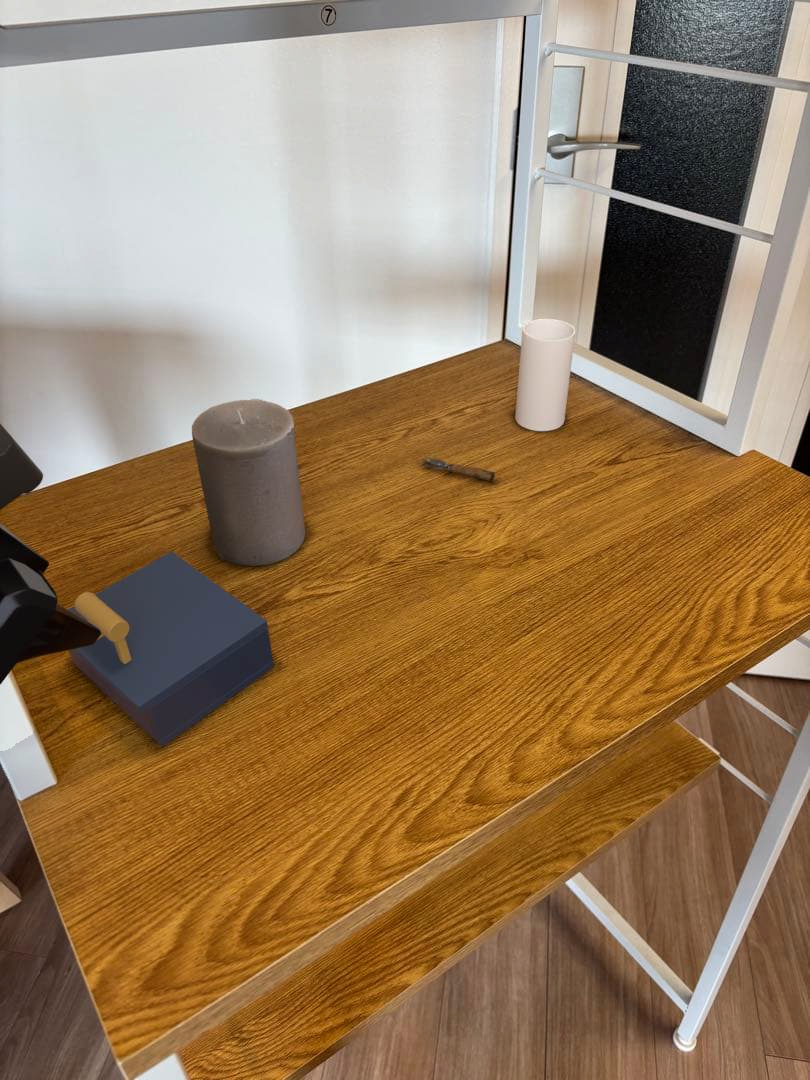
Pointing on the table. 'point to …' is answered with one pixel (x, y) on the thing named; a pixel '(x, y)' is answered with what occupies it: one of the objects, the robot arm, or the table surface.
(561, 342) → the cup
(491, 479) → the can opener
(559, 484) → the table surface
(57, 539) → the table surface
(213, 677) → the chest
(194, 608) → the lid
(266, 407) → the pillar candle
